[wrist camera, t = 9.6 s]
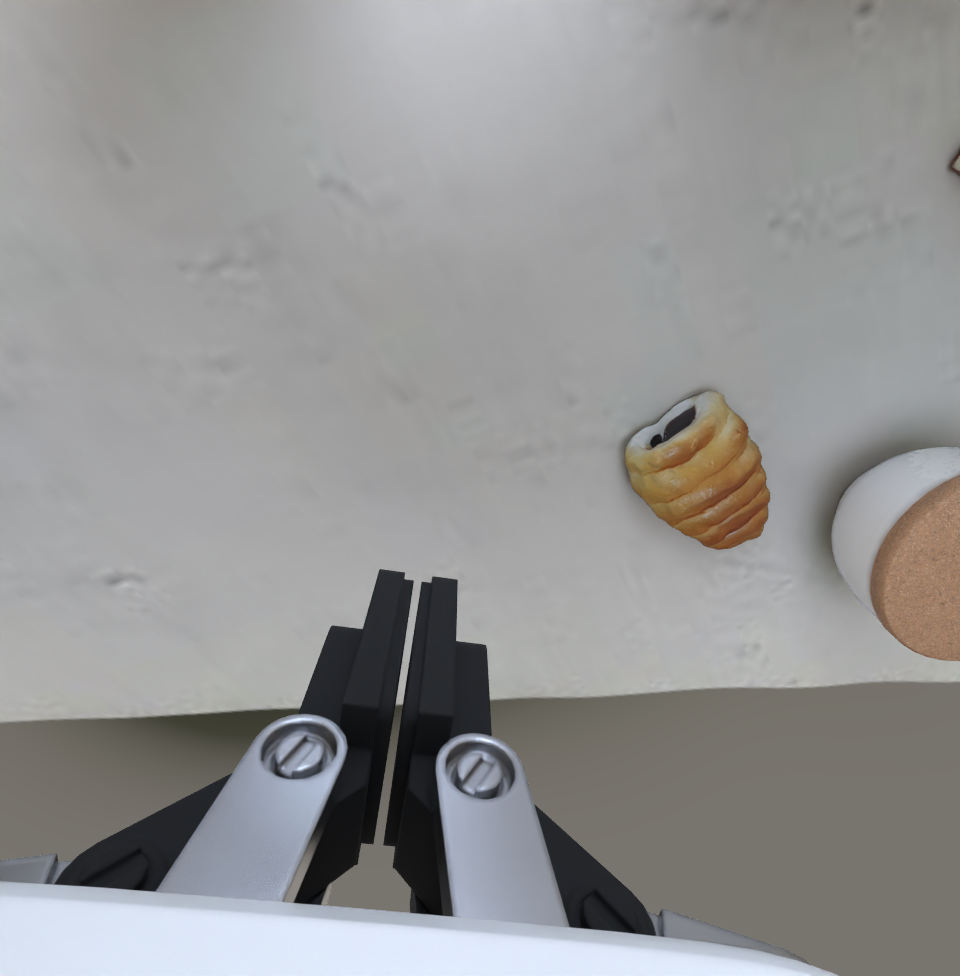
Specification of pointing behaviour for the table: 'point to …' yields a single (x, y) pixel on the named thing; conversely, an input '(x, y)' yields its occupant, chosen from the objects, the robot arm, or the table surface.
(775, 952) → the robot arm
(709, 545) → the pastry
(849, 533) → the trinket box
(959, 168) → the gift box
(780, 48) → the table surface
